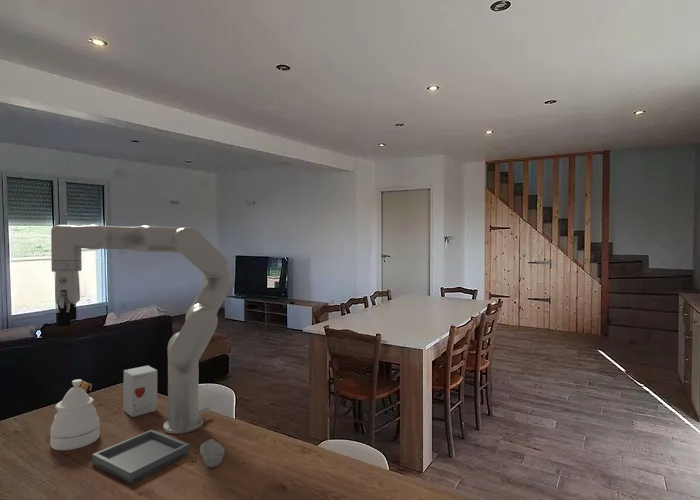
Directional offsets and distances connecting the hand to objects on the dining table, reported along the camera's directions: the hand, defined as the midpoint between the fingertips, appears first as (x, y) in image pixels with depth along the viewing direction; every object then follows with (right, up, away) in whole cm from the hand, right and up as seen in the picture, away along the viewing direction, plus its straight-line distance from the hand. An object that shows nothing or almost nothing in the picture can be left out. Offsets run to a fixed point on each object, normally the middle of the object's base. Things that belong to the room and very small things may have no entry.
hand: (67, 322), depth 127 cm
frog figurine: (+47, -38, -10) cm, 61 cm away
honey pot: (0, -37, +4) cm, 38 cm away
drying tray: (+26, -38, -7) cm, 46 cm away
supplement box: (+9, -37, +27) cm, 47 cm away
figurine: (-11, -37, +23) cm, 45 cm away
